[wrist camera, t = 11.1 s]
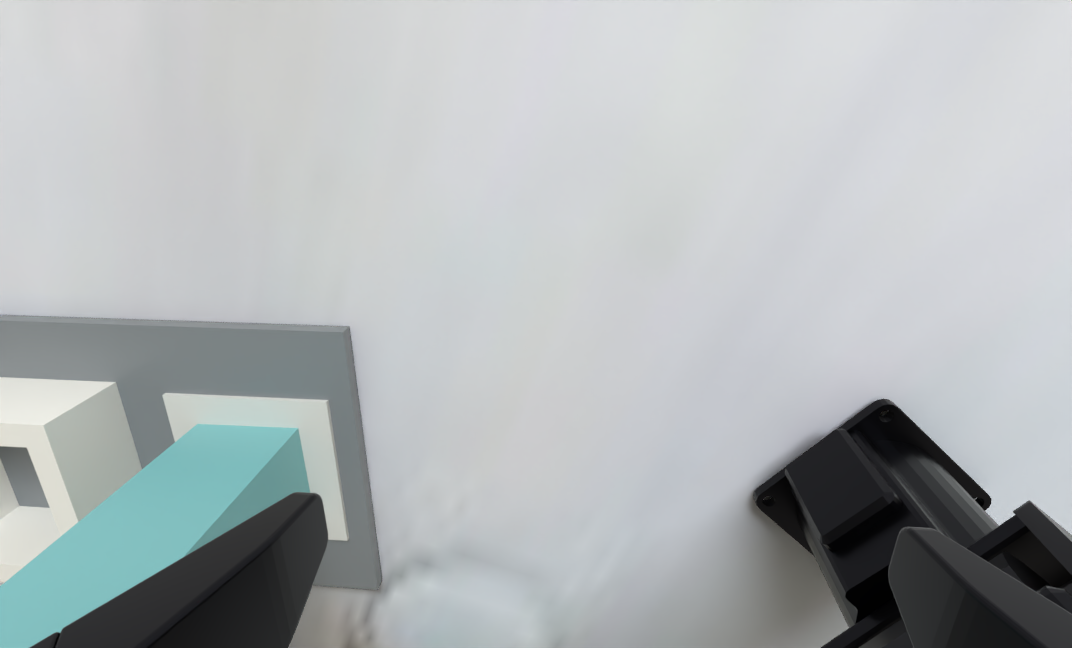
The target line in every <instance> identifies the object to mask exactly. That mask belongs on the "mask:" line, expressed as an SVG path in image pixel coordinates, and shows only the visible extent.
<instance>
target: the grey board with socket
mask: <svg viewBox="0 0 1072 648" xmlns="http://www.w3.org/2000/svg"><path fill="white" fill-rule="evenodd" d="M197 424H211V425H235V426H259V427H283V428H298V430H299V435H300V440H301V446H302V451H303V456H304V462H305V467H306V472H307V478H308V483H309V489H310V493H317V494H319V495H320V496H321V498H322V501H323V506H324V512H325V517H326V523H327V529H328V543H327V548H326V551H325V553H324V556H323V559H322V561H321V564H320V567H319V569H318V572H317V575H316V577H315V580H314V583H313V585H315V586H329V587H343V588H356V589H370V590H378V588H379V586H380V584H381V581H382V576H381V568H380V560H379V553H378V545H377V537H376V529H375V522H374V514H373V506H372V499H371V491H370V483H369V475H368V468H367V460H366V452H365V445H364V437H363V429H362V421H361V414H360V406H359V398H358V390H357V383H356V375H355V367H354V360H353V352H352V344H351V336H350V329H349V327H347V326H317V325H287V324H257V323H227V322H197V321H167V320H137V319H107V318H77V317H47V316H17V315H0V582H6V581H7V580H9V579H10V578H11V577H12V576H13V575H15V574H16V573H17V572H18V571H19V570H21V569H22V568H23V567H24V566H26V565H27V564H28V563H29V562H30V561H32V560H33V559H34V558H35V557H36V556H38V555H39V554H40V553H41V552H43V551H44V550H45V549H46V548H47V547H49V546H50V545H51V544H52V543H53V542H55V541H56V540H57V539H58V538H60V537H61V536H62V535H63V534H64V533H66V532H67V531H68V530H69V529H70V528H72V527H73V526H74V525H75V524H76V523H78V522H79V521H80V520H81V519H83V518H84V517H85V516H86V515H87V514H89V513H90V512H91V511H92V510H93V509H95V508H96V507H97V506H98V505H100V504H101V503H102V502H103V501H104V500H106V499H107V498H108V497H109V496H110V495H112V494H113V493H114V492H115V491H117V490H118V489H119V488H120V487H121V486H123V485H124V484H125V483H126V482H127V481H129V480H130V479H131V478H132V477H134V476H135V475H136V474H137V473H138V472H140V471H141V470H142V469H143V468H144V467H146V466H147V465H148V464H149V463H151V462H152V461H153V460H154V459H155V458H157V457H158V456H159V455H160V454H161V453H163V452H164V451H165V450H166V449H167V448H169V447H170V446H171V445H172V444H174V443H175V442H176V441H177V440H178V439H180V438H181V437H182V436H183V435H184V434H186V433H187V432H188V431H189V430H191V429H192V428H193V427H194V426H195V425H197Z"/></svg>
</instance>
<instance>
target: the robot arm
mask: <svg viewBox="0 0 1072 648" xmlns="http://www.w3.org/2000/svg"><path fill="white" fill-rule="evenodd" d="M885 410H889V412H888V413H887V414H886V415H885V416H880V414H881V413H882V412H883V411H885ZM767 496H772V497H771V499H769V500H763V499H764V498H765V497H767ZM975 498H977V499H976V500H974V499H975ZM754 500H755V502H756V505H757V506H758V508H759V509H760V510H762V511H763V512H764V513H765V514H766V515H767V516H769V517H770V518H771V519H772V520H773V521H774V522H775V523H777V524H778V525H779V526H780V527H781V528H782V529H784V530H785V531H786V532H787V533H788V534H789V535H791V536H792V537H793V538H794V539H795V540H796V541H798V542H799V543H800V544H801V545H802V546H803V547H805V548H806V549H807V550H808V551H809V552H810V553H811V554H813V555H814V556H815V558H816V560H817V562H818V564H819V567H820V569H821V571H822V573H823V575H824V577H825V579H826V581H827V583H828V585H829V587H830V589H831V591H832V593H833V595H834V597H835V600H836V602H837V604H838V606H839V608H840V610H841V612H842V614H843V616H844V618H845V620H846V622H847V624H848V626H849V629H847V630H846V631H844V632H843V633H841V634H840V635H838V636H837V637H835V638H834V639H833V640H831V641H830V642H828V643H827V644H825V645H824V646H822V647H821V648H1072V535H1071V534H1070V533H1068V532H1067V531H1066V530H1065V529H1064V528H1062V527H1061V526H1060V525H1059V524H1058V523H1056V522H1055V521H1054V520H1053V519H1051V518H1050V517H1049V516H1048V515H1047V514H1045V513H1044V512H1043V511H1042V510H1041V509H1039V508H1038V507H1037V506H1036V505H1035V504H1033V503H1032V502H1031V501H1030V500H1029V501H1028V502H1026V503H1025V504H1023V505H1022V506H1020V507H1019V508H1017V509H1016V510H1014V511H1013V512H1014V513H1015V514H1016V515H1015V516H1013V517H1012V518H1010V519H1009V520H1007V521H1006V522H1004V523H1003V524H1001V525H1000V526H999V525H998V524H997V523H996V522H995V521H994V520H993V519H992V518H991V517H990V516H989V515H988V514H987V513H986V512H985V510H986V509H987V508H989V506H990V504H991V498H990V496H989V495H988V494H987V493H986V492H985V491H984V490H983V489H982V488H981V487H980V486H979V485H978V484H977V483H976V482H975V481H974V480H973V479H972V478H971V477H970V476H969V475H968V474H967V473H966V472H965V471H963V470H962V469H961V468H960V467H959V466H958V465H957V464H956V463H955V462H954V461H953V460H952V459H951V458H950V457H949V456H948V455H947V454H946V453H945V452H944V451H943V450H942V449H941V448H940V447H939V446H938V445H937V444H936V443H935V442H934V441H933V440H931V439H930V438H929V437H928V436H927V435H926V434H925V433H924V432H923V431H922V430H921V429H920V428H919V427H918V426H917V425H916V424H915V423H914V422H913V421H912V420H911V419H910V418H909V417H908V416H907V415H906V414H905V413H904V412H903V411H902V410H901V409H900V408H898V407H897V406H896V405H895V404H894V403H893V402H892V401H890V400H887V399H880V400H877V401H875V402H873V403H872V404H870V405H869V406H868V407H866V408H865V409H864V410H862V411H861V412H860V413H858V414H857V415H856V416H854V417H853V418H851V419H850V420H849V421H847V422H846V423H845V424H843V425H842V426H841V427H839V428H838V429H837V430H835V431H833V432H832V433H831V434H829V435H828V436H826V437H825V438H824V439H822V440H821V441H820V442H818V443H817V444H816V445H814V446H813V447H812V448H810V449H809V450H808V451H806V452H805V453H803V454H802V455H801V456H799V457H798V458H797V459H795V460H794V461H793V462H791V463H790V464H789V465H787V466H786V467H785V468H784V469H783V470H781V471H780V472H778V473H777V474H776V475H774V476H773V477H772V478H770V479H769V480H768V481H766V482H765V483H764V484H762V485H761V486H760V487H758V488H757V489H756V490H755V492H754ZM327 543H328V529H327V523H326V517H325V512H324V506H323V501H322V498H321V496H320V495H319V494H317V493H308V492H294V493H292V494H290V495H288V496H286V497H285V498H283V499H281V500H280V501H278V502H276V503H275V504H273V505H271V506H269V507H268V508H266V509H264V510H263V511H261V512H259V513H258V514H256V515H254V516H252V517H251V518H249V519H247V520H246V521H244V522H242V523H241V524H239V525H237V526H235V527H234V528H232V529H230V530H229V531H227V532H225V533H224V534H222V535H220V536H218V537H217V538H215V539H213V540H212V541H210V542H208V543H207V544H205V545H203V546H201V547H200V548H198V549H196V550H195V551H193V552H191V553H190V554H188V555H186V556H184V557H183V558H181V559H179V560H178V561H176V562H174V563H173V564H171V565H169V566H167V567H166V568H164V569H162V570H161V571H159V572H157V573H155V574H154V575H152V576H150V577H149V578H147V579H145V580H144V581H142V582H140V583H138V584H137V585H135V586H133V587H132V588H130V589H128V590H127V591H125V592H123V593H121V594H120V595H118V596H116V597H115V598H113V599H111V600H110V601H108V602H106V603H104V604H103V605H101V606H99V607H98V608H96V609H94V610H92V611H91V612H89V613H87V614H86V615H84V616H82V617H81V618H79V619H77V620H75V621H74V622H72V623H70V624H69V625H67V626H65V627H64V628H63V629H62V630H61V632H60V633H59V632H55V633H53V634H51V635H50V636H48V637H46V638H45V639H43V640H41V641H40V642H38V643H36V644H35V645H33V646H31V647H29V648H288V647H289V644H290V642H291V640H292V638H293V635H294V633H295V630H296V628H297V625H298V623H299V620H300V617H301V615H302V612H303V609H304V607H305V604H306V601H307V599H308V596H309V593H310V591H311V588H312V585H313V583H314V580H315V577H316V575H317V572H318V569H319V567H320V564H321V561H322V559H323V556H324V553H325V551H326V548H327Z"/></svg>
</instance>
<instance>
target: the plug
mask: <svg viewBox="0 0 1072 648" xmlns="http://www.w3.org/2000/svg"><path fill="white" fill-rule="evenodd" d="M294 492H308V493H310V489H309V483H308V478H307V472H306V467H305V462H304V456H303V451H302V446H301V440H300V435H299V430H298V428H283V427H259V426H235V425H211V424H197V425H195V426H194V427H193V428H192V429H191V430H189V431H188V432H187V433H186V434H184V435H183V436H182V437H181V438H180V439H178V440H177V441H176V442H175V443H174V444H172V445H171V446H170V447H169V448H167V449H166V450H165V451H164V452H163V453H161V454H160V455H159V456H158V457H157V458H155V459H154V460H153V461H152V462H151V463H149V464H148V465H147V466H146V467H144V468H143V469H142V470H141V471H140V472H138V473H137V474H136V475H135V476H134V477H132V478H131V479H130V480H129V481H127V482H126V483H125V484H124V485H123V486H121V487H120V488H119V489H118V490H117V491H115V492H114V493H113V494H112V495H110V496H109V497H108V498H107V499H106V500H104V501H103V502H102V503H101V504H100V505H98V506H97V507H96V508H95V509H93V510H92V511H91V512H90V513H89V514H87V515H86V516H85V517H84V518H83V519H81V520H80V521H79V522H78V523H76V524H75V525H74V526H73V527H72V528H70V529H69V530H68V531H67V532H66V533H64V534H63V535H62V536H61V537H60V538H58V539H57V540H56V541H55V542H53V543H52V544H51V545H50V546H49V547H47V548H46V549H45V550H44V551H43V552H41V553H40V554H39V555H38V556H36V557H35V558H34V559H33V560H32V561H30V562H29V563H28V564H27V565H26V566H24V567H23V568H22V569H21V570H19V571H18V572H17V573H16V574H15V575H13V576H12V577H11V578H10V579H9V580H7V581H6V582H5V583H4V584H2V585H1V586H0V648H29V647H31V646H33V645H35V644H36V643H38V642H40V641H41V640H43V639H45V638H46V637H48V636H50V635H51V634H53V633H55V632H59V633H60V632H61V630H62V629H63V628H64V627H65V626H67V625H69V624H70V623H72V622H74V621H75V620H77V619H79V618H81V617H82V616H84V615H86V614H87V613H89V612H91V611H92V610H94V609H96V608H98V607H99V606H101V605H103V604H104V603H106V602H108V601H110V600H111V599H113V598H115V597H116V596H118V595H120V594H121V593H123V592H125V591H127V590H128V589H130V588H132V587H133V586H135V585H137V584H138V583H140V582H142V581H144V580H145V579H147V578H149V577H150V576H152V575H154V574H155V573H157V572H159V571H161V570H162V569H164V568H166V567H167V566H169V565H171V564H173V563H174V562H176V561H178V560H179V559H181V558H183V557H184V556H186V555H188V554H190V553H191V552H193V551H195V550H196V549H198V548H200V547H201V546H203V545H205V544H207V543H208V542H210V541H212V540H213V539H215V538H217V537H218V536H220V535H222V534H224V533H225V532H227V531H229V530H230V529H232V528H234V527H235V526H237V525H239V524H241V523H242V522H244V521H246V520H247V519H249V518H251V517H252V516H254V515H256V514H258V513H259V512H261V511H263V510H264V509H266V508H268V507H269V506H271V505H273V504H275V503H276V502H278V501H280V500H281V499H283V498H285V497H286V496H288V495H290V494H292V493H294Z"/></svg>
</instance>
